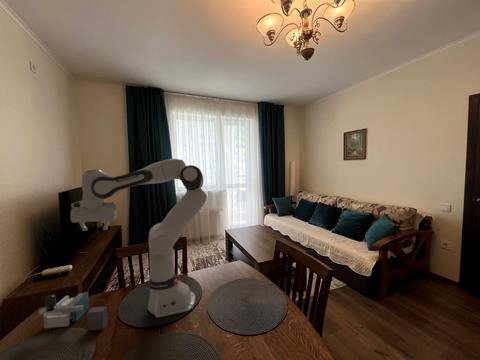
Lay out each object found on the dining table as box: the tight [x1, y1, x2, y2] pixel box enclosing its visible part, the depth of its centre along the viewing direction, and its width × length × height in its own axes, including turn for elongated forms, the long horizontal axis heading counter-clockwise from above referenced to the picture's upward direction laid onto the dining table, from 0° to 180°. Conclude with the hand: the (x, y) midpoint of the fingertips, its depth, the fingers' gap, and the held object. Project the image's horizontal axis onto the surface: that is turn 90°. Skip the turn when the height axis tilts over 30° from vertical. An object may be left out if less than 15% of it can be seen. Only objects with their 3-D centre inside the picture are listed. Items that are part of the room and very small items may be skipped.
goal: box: [42, 295, 71, 329], centre depth 96 cm, size 9×13×6 cm
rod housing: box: [86, 306, 109, 332], centre depth 89 cm, size 6×3×8 cm, turn 96°
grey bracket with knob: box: [38, 291, 90, 323], centre depth 93 cm, size 16×15×15 cm
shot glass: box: [59, 296, 76, 321], centre depth 96 cm, size 7×7×7 cm
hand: (95, 230), depth 104 cm, fingers open, 8 cm apart
